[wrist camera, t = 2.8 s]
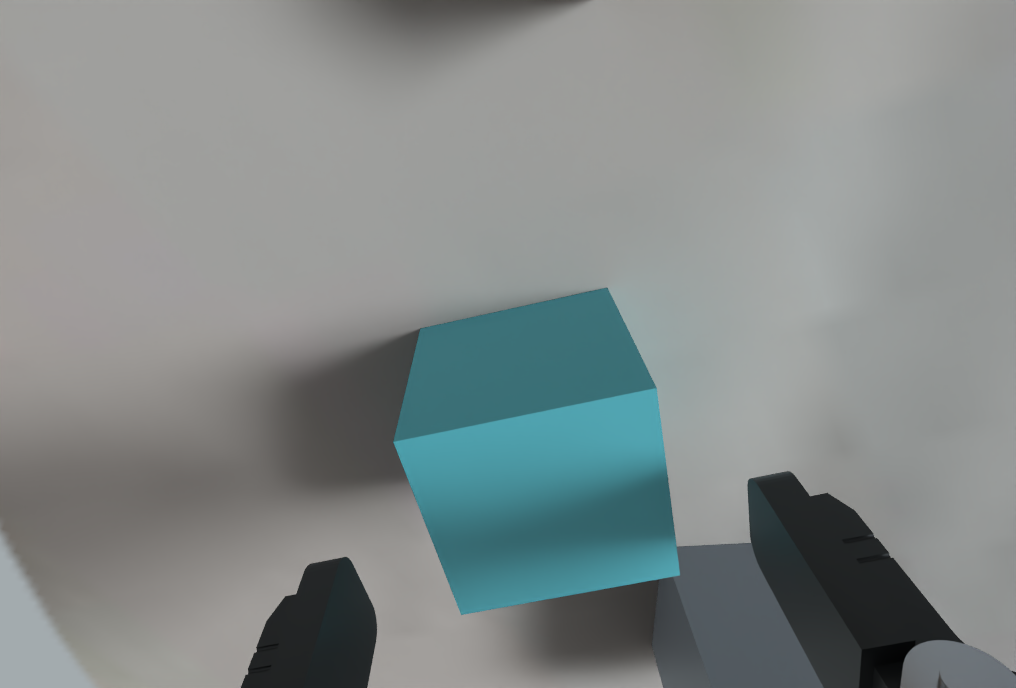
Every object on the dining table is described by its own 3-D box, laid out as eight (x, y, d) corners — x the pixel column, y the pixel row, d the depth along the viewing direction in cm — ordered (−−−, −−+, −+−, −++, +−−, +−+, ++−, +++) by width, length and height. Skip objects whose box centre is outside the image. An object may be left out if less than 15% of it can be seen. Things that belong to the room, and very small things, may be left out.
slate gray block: (662, 545, 19) (714, 695, 15) (811, 537, 19) (908, 684, 15) (651, 643, 22) (693, 798, 17) (784, 636, 22) (861, 788, 17)
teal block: (420, 327, 15) (393, 441, 11) (606, 286, 15) (656, 388, 11) (468, 471, 18) (461, 614, 13) (630, 438, 17) (680, 575, 13)
